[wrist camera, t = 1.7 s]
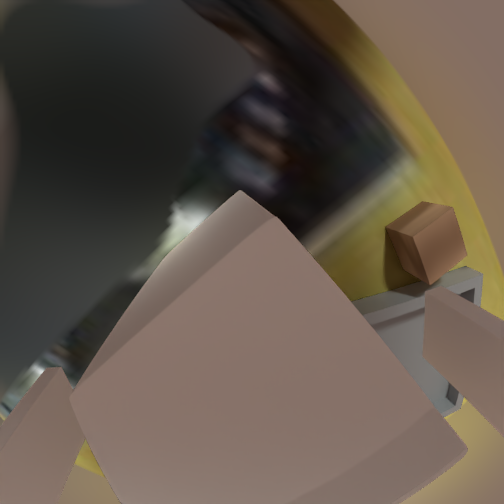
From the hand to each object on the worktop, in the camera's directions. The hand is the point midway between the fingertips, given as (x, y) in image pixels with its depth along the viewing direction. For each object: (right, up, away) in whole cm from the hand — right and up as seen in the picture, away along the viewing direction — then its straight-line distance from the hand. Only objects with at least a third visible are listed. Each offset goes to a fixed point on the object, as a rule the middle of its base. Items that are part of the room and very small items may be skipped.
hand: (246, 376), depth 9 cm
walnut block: (+13, +5, +13) cm, 19 cm away
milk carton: (-1, +3, +12) cm, 13 cm away
